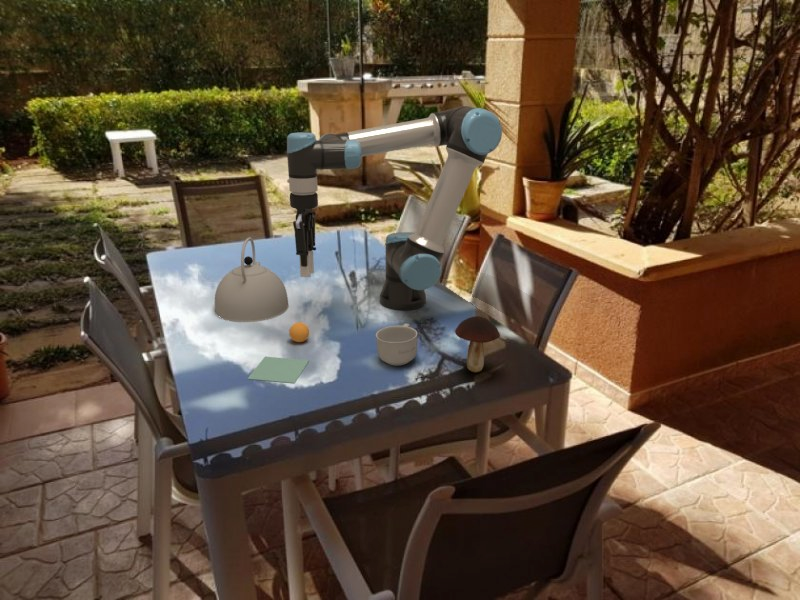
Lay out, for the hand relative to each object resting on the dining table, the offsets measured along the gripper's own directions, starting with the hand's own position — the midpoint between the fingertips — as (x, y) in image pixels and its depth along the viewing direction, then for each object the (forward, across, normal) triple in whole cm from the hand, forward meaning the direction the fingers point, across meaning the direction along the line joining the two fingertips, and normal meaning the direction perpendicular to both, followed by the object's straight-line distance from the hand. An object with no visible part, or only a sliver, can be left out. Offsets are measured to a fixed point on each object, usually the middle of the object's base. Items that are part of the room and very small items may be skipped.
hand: (307, 274), depth 168 cm
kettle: (+17, -13, -22) cm, 31 cm away
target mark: (+17, +26, 0) cm, 31 cm away
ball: (+14, +10, 0) cm, 17 cm away
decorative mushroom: (+17, +18, +49) cm, 55 cm away
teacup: (+17, +14, +29) cm, 37 cm away
